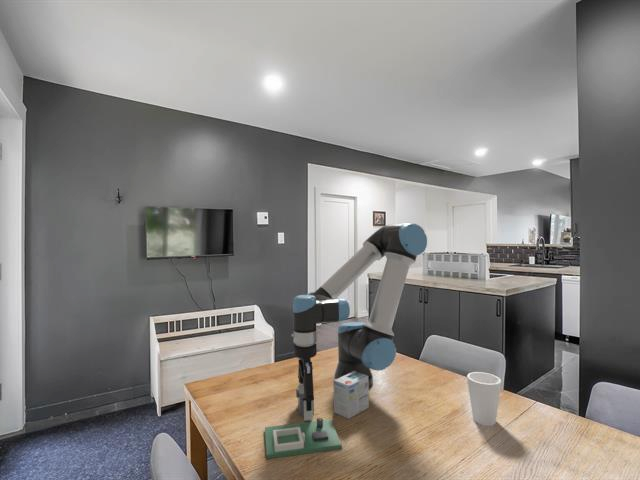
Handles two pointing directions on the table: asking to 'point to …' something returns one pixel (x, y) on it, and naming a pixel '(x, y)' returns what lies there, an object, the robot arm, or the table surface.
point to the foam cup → (484, 396)
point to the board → (301, 438)
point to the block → (300, 402)
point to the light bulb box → (351, 394)
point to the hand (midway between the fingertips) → (305, 410)
